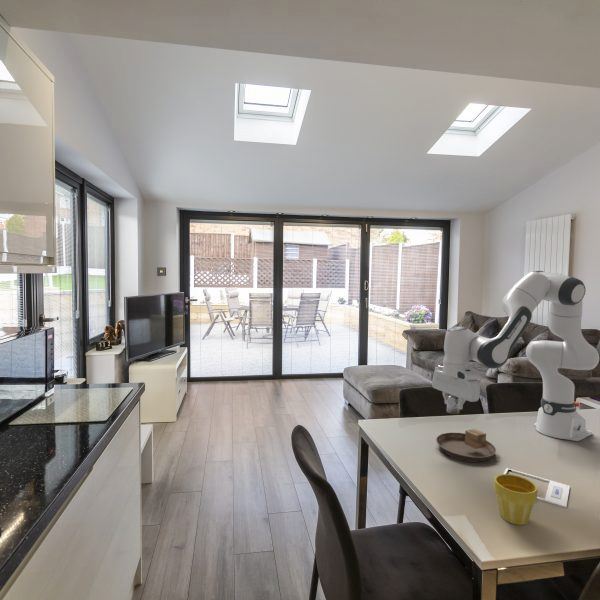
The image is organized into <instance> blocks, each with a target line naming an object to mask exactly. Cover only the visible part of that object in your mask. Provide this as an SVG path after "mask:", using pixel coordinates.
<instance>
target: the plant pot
mask: <svg viewBox="0 0 600 600" xmlns="http://www.w3.org/2000/svg"><path fill="white" fill-rule="evenodd" d="M493 488H494V489H493V490H494V493H495V494H496V496H497V502H498V506H499V507H498V508H499V513H500V516H501V518H502V519H503V520H505V521H506V522H508V523H510V524H514V525H520V526H522V525H527V524H528V523H529V520H530V516H531V514H532V510H533V507H534V505H535V504H536V503H537V501H538V499H537V497H538V494H539V493H538V486H537V484H535V483H534V482H533V481H531V480H530V479H528V478H525V477H523V476H520V475H515V474H510V473H506V474H504V473H501V474H498V475H496V476H495V478H494V486H493Z"/></svg>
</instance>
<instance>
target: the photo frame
mask: <svg viewBox="0 0 600 600" xmlns="http://www.w3.org/2000/svg"><path fill="white" fill-rule="evenodd" d="M510 470H511V471H512V472H511V471H510ZM508 471H510V472H511V473H515V474H519V475H522V476H525V477H529V478H533V479H536V480H540V481H543V482H545V483H546V482H547V483H548V486H547V490H546V493H545V497H544V498H543V497H539V496H537V501H542V502H544V503H548V504H550V505H554V506H558V507H561V508H563V507H564V509H567V505H568V500H569V499H568V498H569V495H570V494H569V493H570V490H571V489H570V488H571V485H569V484H568V485H567V484H564V483H563V482H559V481H555V480H551V479H546V478H543V477H541V476H536V475H533V474H529V473H526V472H522V471H519V470H517V469H512V468H509V467H506V468H505V469H504V472H503V474H508Z"/></svg>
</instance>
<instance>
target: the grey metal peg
mask: <svg viewBox="0 0 600 600" xmlns="http://www.w3.org/2000/svg"><path fill="white" fill-rule="evenodd" d="M459 401H460V400H459V397H456V396H454V395H451V394H448V395H447V404H446V412H447V413H448V414H451V415H459V413H460V409H457V408H456V404H458V403H459Z"/></svg>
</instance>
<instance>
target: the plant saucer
mask: <svg viewBox="0 0 600 600" xmlns="http://www.w3.org/2000/svg"><path fill="white" fill-rule="evenodd" d="M435 440H436V443H437V445H438V447H439V448H440V449H441V450H442V452H444V453H445V454H446V455H448V456H450V457H452V458H453V459H456V460H461V461H465V462H473V463H474V462H475V463H479V462H484V461H485V462H486V461H487V460H490V459H491V458H493V456H494V455H495V454H496V453H497V449H496V447H495V445H493V443H492V442H489V441H488V440H486V446H485V447H483V448H478V449H474V448H472V447H470V446H468V445H466V444H465V433H464V432H463V433H462V432H446V433H441V434H439V435H438V436H437V437H436V439H435Z"/></svg>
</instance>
